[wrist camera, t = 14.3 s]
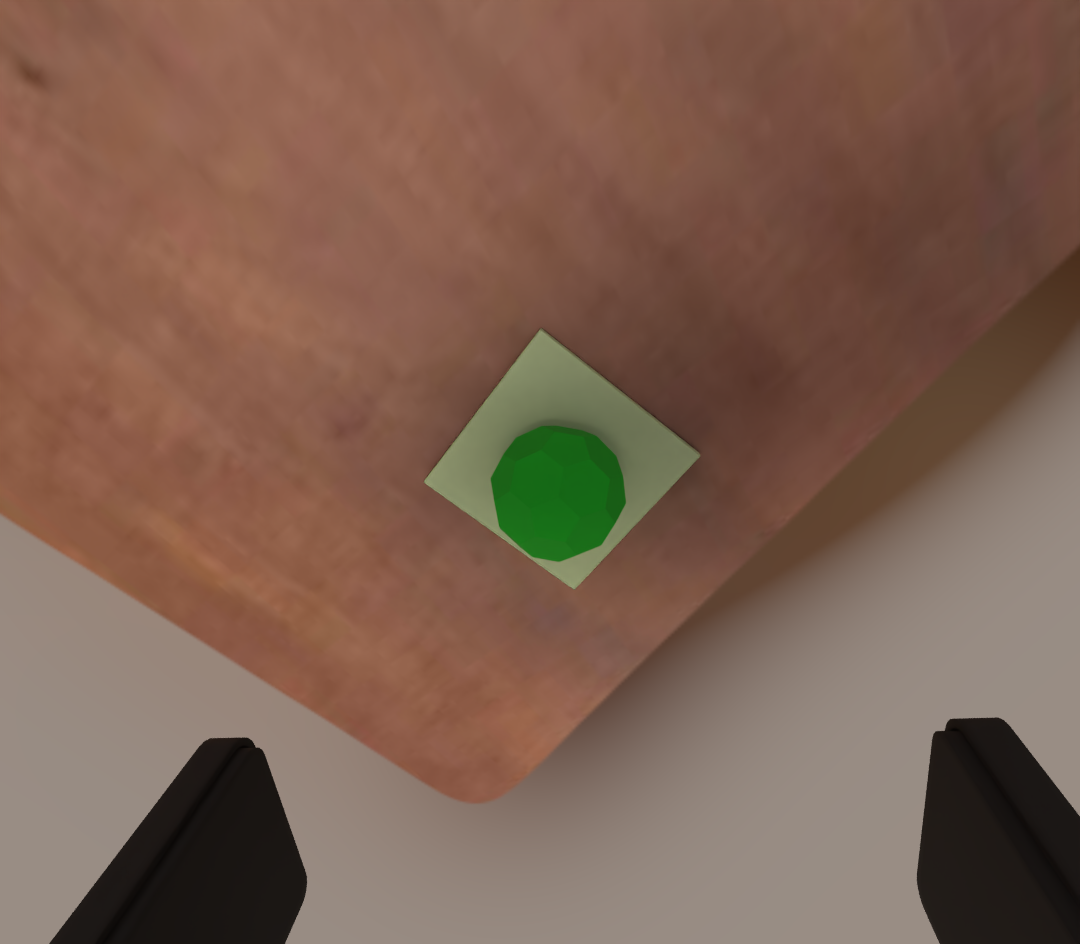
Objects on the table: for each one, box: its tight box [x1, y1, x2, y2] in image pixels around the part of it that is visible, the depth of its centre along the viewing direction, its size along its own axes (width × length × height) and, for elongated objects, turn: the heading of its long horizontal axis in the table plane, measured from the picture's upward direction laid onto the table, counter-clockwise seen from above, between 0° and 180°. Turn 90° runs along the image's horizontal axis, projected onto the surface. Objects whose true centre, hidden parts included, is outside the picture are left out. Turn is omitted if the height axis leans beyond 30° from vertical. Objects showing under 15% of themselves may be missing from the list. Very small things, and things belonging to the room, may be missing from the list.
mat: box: [424, 328, 700, 590], centre depth 27 cm, size 8×8×1 cm
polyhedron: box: [490, 426, 626, 562], centre depth 24 cm, size 5×5×5 cm
